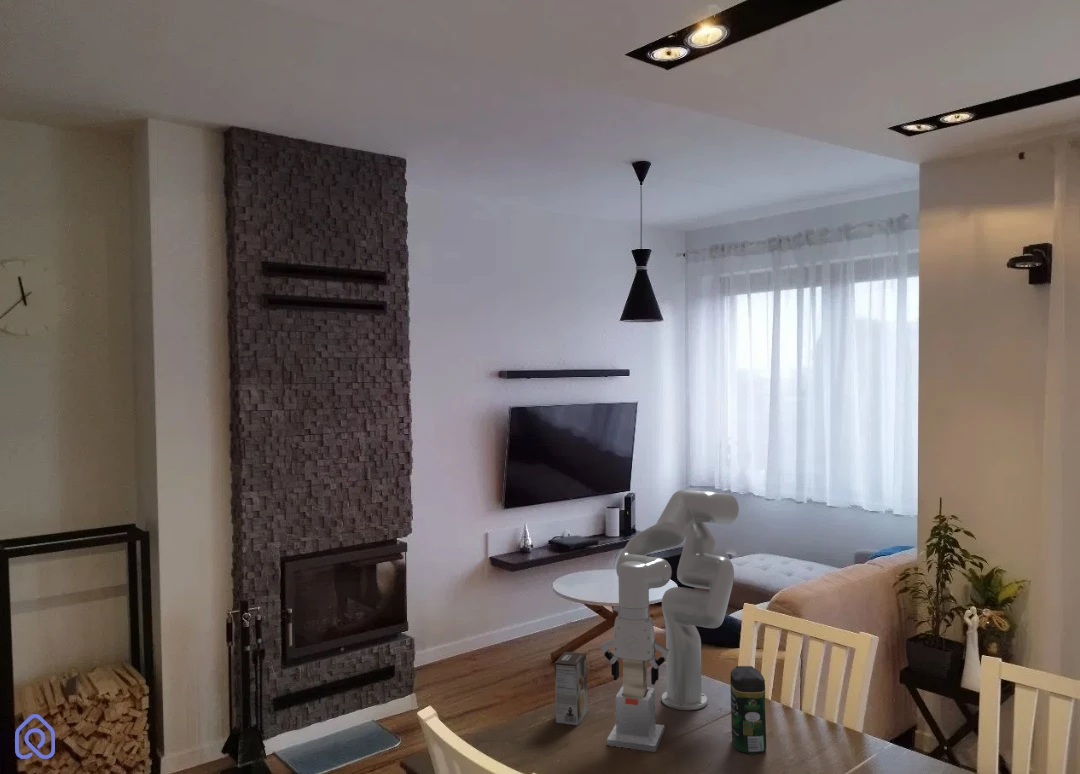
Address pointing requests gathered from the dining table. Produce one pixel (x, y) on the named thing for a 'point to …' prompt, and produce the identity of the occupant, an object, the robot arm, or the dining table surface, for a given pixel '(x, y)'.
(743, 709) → the coffee jar
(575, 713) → the coffee box
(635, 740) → the stand
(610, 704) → the dining table surface
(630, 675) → the post
